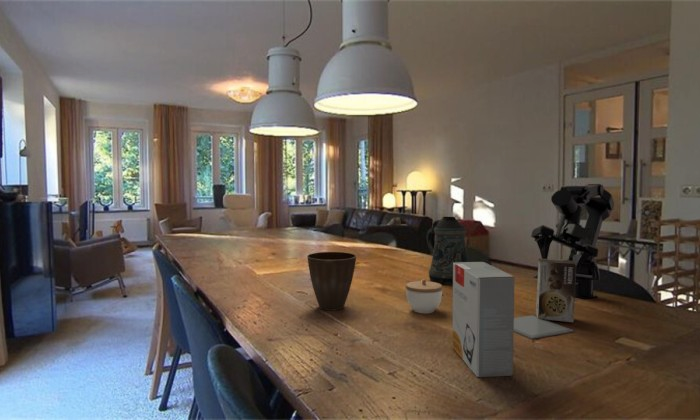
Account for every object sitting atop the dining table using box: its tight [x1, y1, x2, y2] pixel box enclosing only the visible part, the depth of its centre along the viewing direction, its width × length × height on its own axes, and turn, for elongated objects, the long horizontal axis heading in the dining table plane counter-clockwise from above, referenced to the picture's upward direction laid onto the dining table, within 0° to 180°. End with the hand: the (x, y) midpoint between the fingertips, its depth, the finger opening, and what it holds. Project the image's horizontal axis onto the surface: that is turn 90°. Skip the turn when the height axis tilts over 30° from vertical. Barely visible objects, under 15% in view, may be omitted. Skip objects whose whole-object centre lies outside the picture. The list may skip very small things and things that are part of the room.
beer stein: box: [426, 216, 469, 286], centre depth 170 cm, size 16×19×25 cm
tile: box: [514, 314, 575, 340], centre depth 114 cm, size 14×14×1 cm
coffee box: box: [535, 257, 576, 323], centre depth 121 cm, size 9×6×16 cm
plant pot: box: [306, 251, 357, 311], centre depth 133 cm, size 15×15×16 cm
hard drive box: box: [451, 261, 515, 378], centre depth 91 cm, size 16×8×20 cm, turn 5°
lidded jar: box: [405, 278, 443, 314], centre depth 129 cm, size 11×11×9 cm
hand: (558, 268), depth 129 cm, fingers open, 9 cm apart
